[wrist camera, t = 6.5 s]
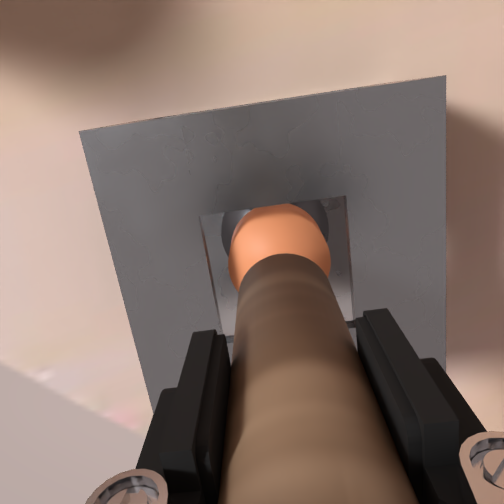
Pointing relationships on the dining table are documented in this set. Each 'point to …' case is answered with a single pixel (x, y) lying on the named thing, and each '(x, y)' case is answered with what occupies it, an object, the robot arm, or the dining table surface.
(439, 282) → the guard cage
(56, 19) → the dining table surface
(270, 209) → the breaker plunger
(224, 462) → the brown wooden rod
